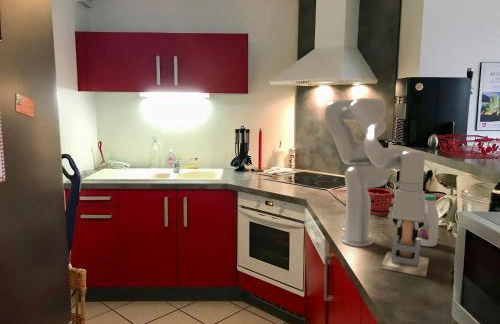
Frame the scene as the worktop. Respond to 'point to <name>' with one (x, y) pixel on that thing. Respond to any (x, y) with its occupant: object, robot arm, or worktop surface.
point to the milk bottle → (430, 230)
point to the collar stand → (406, 259)
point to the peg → (407, 236)
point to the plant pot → (380, 201)
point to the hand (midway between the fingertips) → (407, 238)
